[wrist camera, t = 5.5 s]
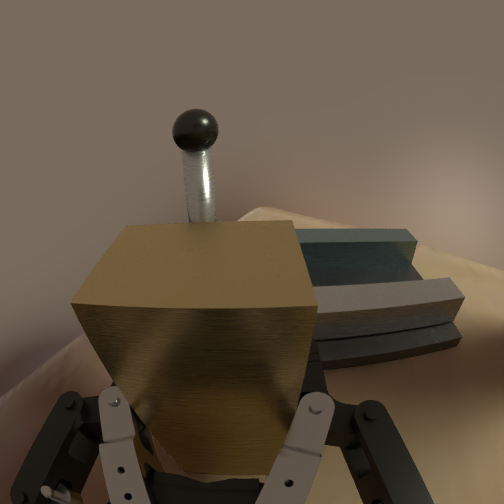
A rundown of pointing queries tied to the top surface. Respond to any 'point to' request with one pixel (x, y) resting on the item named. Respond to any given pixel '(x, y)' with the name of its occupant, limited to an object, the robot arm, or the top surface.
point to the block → (205, 336)
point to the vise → (369, 272)
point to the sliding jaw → (328, 297)
